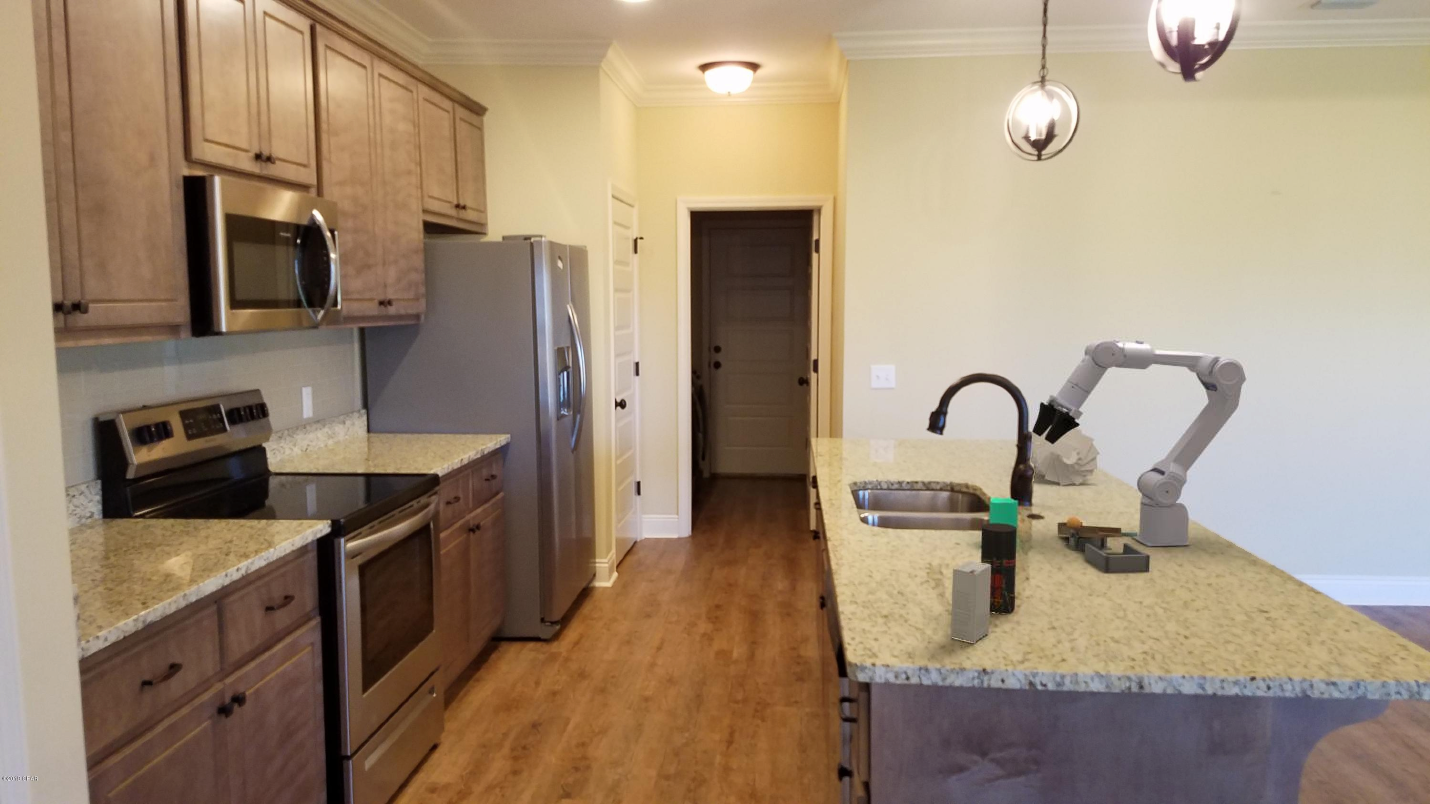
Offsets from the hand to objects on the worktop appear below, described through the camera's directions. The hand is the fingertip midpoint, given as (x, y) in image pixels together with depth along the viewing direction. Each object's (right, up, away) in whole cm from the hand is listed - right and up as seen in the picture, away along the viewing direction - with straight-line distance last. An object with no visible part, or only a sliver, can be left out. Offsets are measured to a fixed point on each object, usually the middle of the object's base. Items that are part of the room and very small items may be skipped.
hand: (1042, 438), depth 203 cm
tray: (+9, -26, -16) cm, 32 cm away
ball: (+9, -20, +4) cm, 22 cm away
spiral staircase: (+30, -16, +69) cm, 77 cm away
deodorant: (-23, -29, -41) cm, 55 cm away
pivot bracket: (+9, -24, -3) cm, 26 cm away
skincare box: (-32, -31, -54) cm, 70 cm away
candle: (-9, -24, -1) cm, 26 cm away
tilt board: (+11, -22, -4) cm, 25 cm away
